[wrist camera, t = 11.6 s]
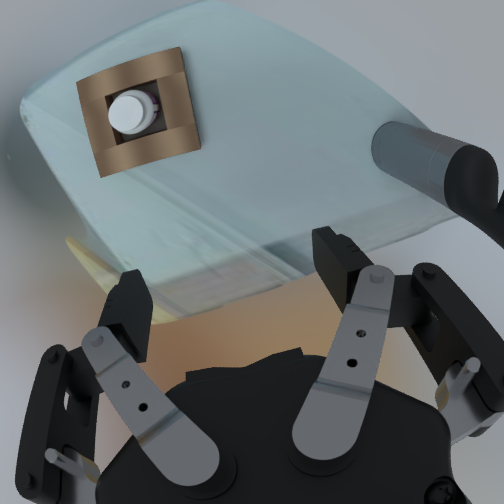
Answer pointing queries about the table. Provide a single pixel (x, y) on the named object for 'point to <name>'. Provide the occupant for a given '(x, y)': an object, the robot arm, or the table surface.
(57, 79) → the table surface
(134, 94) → the pill bottle
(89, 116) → the well block
